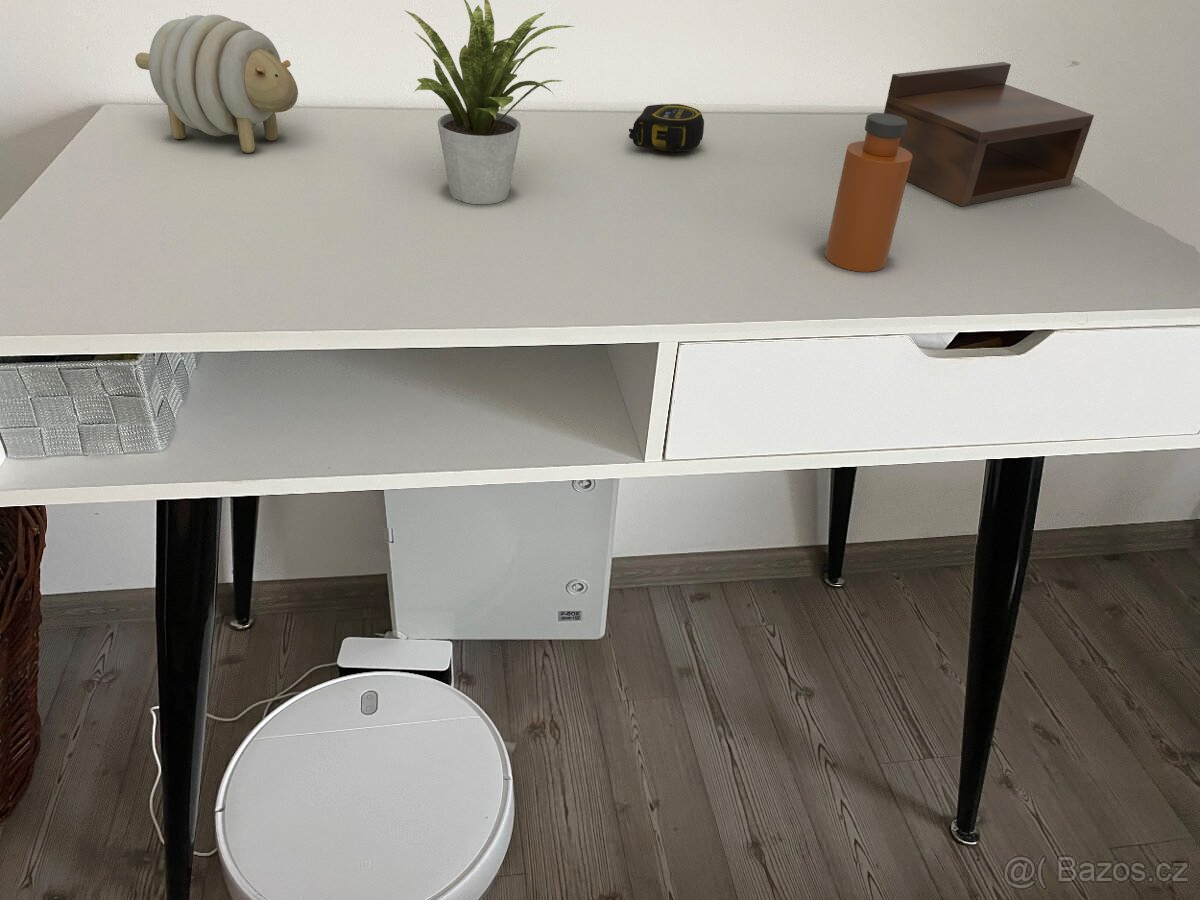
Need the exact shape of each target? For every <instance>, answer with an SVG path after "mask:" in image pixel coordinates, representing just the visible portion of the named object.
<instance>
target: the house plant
mask: <svg viewBox="0 0 1200 900" xmlns="http://www.w3.org/2000/svg"><path fill="white" fill-rule="evenodd" d="M463 2H464V4H465V7H466V11H467V13H468V16H469V17H468V18H469V23H470V27H469V34H468V35H469V36H468V42H467V44H464V45H463V46H462V47H461V49H460V51H459V57H458V62H459V64H458V65H459V67H460V71H461V74H460V73H459V70H458V69H457V65H456V64H455V62H454V59H453V57H452V55H451V53H450V51H449V50H448V48H447V46H446V44H445V42H444V41H443V40H442V38H441V37H440V35H439V34H438V32H436V31H435V30H434V29H433V27H431V25H429V24H428V23H427V22H425V21H424V20H423V19H422V17H419V16H418V15H416V13H412V12H410V11H407V10H405V12H406V13H407V14H408V15H409V16H411V17H412V18H413V19H414V20H415V21H416V22H417V23H418V24H419V26H420V28H422V30H423V31H424V33H425V34H426V36H427V37H428V38H429V40H430V42H431V44H432V45H433V46H432V45H431V44H430V43H429V41H428V40H427V39H425V38H424V37H423V36H421V35H420V34H418V33H417V32H415V34H416V36H417V37H418V38H419V39H420V40H422V41H423V42H424V43H425V44H426V45H427V46H428V47H429V48H430V50H431V51H432V52H433V54H434V55H435V56H436V57H437V58H438V60H439V61H440V62H441V63H442V64H443V66H444V68H445V69H446V71H447V72H448V74H449V76H450V78H451V81H452V83H453V84H454V86H455V88H456V90H457V92H458V94H459V95H460V97H461V99H462V101H463V103H464V106H465V108H464V106H463V104H462V101H461V99H460V97H459V95H458V94H457V92H456V90H455V89H454V87H453V86H452V85H451V82H450V80H449V78H448V77H447V76H446V74H445V71H443V68H442V67H441V64H440V63H439V61H438V60H436V59H435V58H432V61H433V66H434V73H435V76H436V78H437V80H438V81H437V80H436V79H433V78H429V77H422V78H421V77H420V78H417V79H416V81H418V82H419V83H420V84H419V85H418V86H417V87H416V88H415V90H414V92H412V93H415V92H417V91H432V92H433V93H434V94H436V95H437V96H438V97H439V98H440V99H442V100H443V102H444V103H445V105H446V106H447V108H448V109H449V111H450V113H447V114H444V115H442V116H440V117H439V119H438V120H437V128H438V134H439V141H440V144H441V145H440V146H441V151H442V157H443V162H444V167H445V173H446V178H447V184H448V190H449V194H450V196H451V197H452V198H453V199H455V200H457V201H459V202H463V203H465V204H473V205H491V204H493V205H494V204H497V203H500V202H503V201H504V200H506V199H508V197H509V195H510V189H511V185H512V184H511V183H512V178H513V174H514V173H513V172H514V167H515V162H516V157H517V150H518V145H519V141H520V140H519V139H520V134H521V128H522V125H521V122H520V120H518V119H517V118H515V117H513V116H511V115H509V113H510V112H511V111H512V110H513V109H514V108H515V107H516V106H517V105H518V104H519V103H521V101H523V99H525V98H526V97H527V96H528V95H530V94H531V93H532V92H533V91H534V90H537V89H538V88H539V87H542V88H544V89H546V90H548V91H549V92H551V93H552V94H553V96H555V95H554V93H553V91H552V90H551V89H550V88H548V87H547V86H546V84H547V83H555V82H556V83H557V82H562V80H559V79H548V80H547V79H546V80H544V81H541V82H539V81H535V80H524V81H523V80H522V81H518V82H516V83H514V84H512V85H511V86H509V85H510V84H511V82H513V81H514V80H515V79H516V78H518V74H517V73H516V72H517V71H518V69H519V67H521V65H522V64H523V63H524V62H525V61H526V60H527V59H528V58H529V57H531V56H532V55H533V54H534V53H537V52H539V51H541V50H550V49H553V50H554V49H556V47H554V46H548V45H547V46H545V45H544V46H539V47H537V48H534V49H532V50H531V51H530V52H528V53H527V54H526V55H525V56H524V57H521V58H517V56H518V55H519V54H520V53H521V51H522V50H523V49H524V48H525V47H526V46H527V45H528V44H529V43H530V42H531V41H533V40H534V39H535V38H537V37H538V36H540V35H542V34H543V33H544V34H545V33H546V32H548V31H550V30H554V29H563V28H564V29H565V28H574V27H576V26H575V25H564V24H563V25H561V24H558V25H550V26H545V27H543V28H541V29H538V30H536V31H535V32H533V33H531V31H533V30H535V29H537V28H538V26H533V24H534V23H535V21H537V20H538V19H540V18H541V17H543V16H544V14H545V13H546V12H542V13H538V14H535V15H533V16H531V17H529V18H527V19H526V20H524V21H523V22H522V23H521V24H520V25H519V26H518V27H517V29H515V31H514V32H513V33H512V35H511V36H510V37H507V38H504V39H499V40H496V41H495V19H494V15H493V10H492V7H491V3H490V1H489V0H484V3H483V5H484V6H483V7H484V8H483V9H484V12H483V9H482V8H481V6H480V4H478V5H477V6H476V7H475V8H474V10H473V12H472V9H471V7H470V4H469V2H468V1H467V0H463ZM529 33H531V35H530V36H528V35H529ZM527 36H528V37H527ZM526 37H527V38H526ZM525 38H526V39H525ZM516 58H517V59H516ZM516 65H517V66H516ZM512 71H513V72H512ZM508 86H509V88H507V87H508ZM526 86H533V87H532V88H531V89H529V90H528V91H527V92H526V93H524V94H523V95H522V96H521V97H520V98H519V99H518V100H517V101H515V103H514V104H513V105H512V106H511V107H510V108H509V109H508V110H507V111H506V112H505V113H502V112H503V111H504V110H503V109H504V108H505V107H506V106H508V105H510V103H513V101H514V96H512V95H511V94H512V93H514V92H515V91H516V90H518V89H521V88H522V87H526ZM499 108H500V109H499ZM500 110H501V112H499V111H500Z"/></svg>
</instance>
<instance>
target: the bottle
mask: <svg viewBox="0 0 1200 900" xmlns="http://www.w3.org/2000/svg"><path fill="white" fill-rule="evenodd" d="M906 125H907V121H906V120H905V119H904V118H902V117H899V116H896V115H892V114H885V113H884V112H875V113H870V114H868V115H867V116H866V121H865V124H864V131H865V137H864V140H860V141H859V140H858V141H853V142H851V143H849V144H848V145H847V147H846V152H845V156H844V160H843V165H842V170H841V175H840V179H839V184H838V189H837V194H836V198H835V199H836V200H835V204H834V209H833V213H832V218H831V222H830V228H829V233H828V237H827V242H826V247H825V251H824V257H825V259H826V260H827V261H828V262H829V263H831V264H832V265H834V266H836V267H838V268H841V269H843V270H849V271H853V272H862V273H871V272H877V271H880V270H882V269H884V268H885V267H886V266H887V261H888V259H889V254H890V250H891V246H892V241H893V237H894V234H895V230H896V226H897V221H898V217H899V214H900V210H901V207H902V206H901V205H902V202H903V198H904V193H905V190H906V185H907V182H908V181H907V177H908V173H909V169H910V165H911V161H912V154H911V153H910V152H909V151H908V150H906V149H904V148H902V147H899V143H900V139H901V137H902V136H904V134H905V129H906Z"/></svg>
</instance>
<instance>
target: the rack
mask: <svg viewBox="0 0 1200 900" xmlns="http://www.w3.org/2000/svg"><path fill="white" fill-rule="evenodd" d="M1011 66H1012V63H1008V62H1006V61H999V62H991V63H982V64H980V63H979V64H971V65H965V66H962V65H961V66H953V67H946V68H937V69H929V70H928V69H927V70H926V69H925V70H918V71H909V72H908V71H907V72H900V73H892V75H891V79H890V83H889V88H888V93H887V97H886V98H887V99H886V102H885V106H884V110H883V113H885V114H892V115H896V116H899V117H902V118H904V119H905V120H906V121H907V125H906V129H905V134H904V136H902V137H901V139H900V143H899V147H902V148H904V149H906V150H908V151H909V152H910V153H911V154H912V161H911V165H910V169H909V173H908V177H907V181H906V182H908V183H910V184H912V185H915V186H917V187H918V188H920V189H923V190H925V191H927V192H929V193H931V194H933V195H935V196H938V197H939V198H941V199H944V200H946V201H948V202H950V203H953V204H955V205H957V206H959V207H965V206H969V205H974V204H975V205H976V204H981V203H984V202H985V203H986V202H989V201H995V200H999V199H1005V198H1009V197H1014V196H1015V197H1016V196H1021V195H1024V194H1025V195H1026V194H1030V193H1035V192H1040V191H1045V190H1050V189H1054V188H1060V187H1064V186H1069V185H1071V184H1072V181H1073V178H1074V175H1075V172H1076V170H1077V167H1078V164H1079V162H1080V158H1081V155H1082V152H1083V149H1084V146H1085V144H1086V141H1087V138H1088V135H1089V132H1090V129H1091V126H1092V123H1093V120H1094V116H1095V115H1094V114H1092V113H1089V112H1087V111H1083V110H1080V109H1077V108H1075V107H1072V106H1069V105H1066V104H1063V103H1061V102H1058V101H1055V100H1052V99H1049V98H1047V97H1043V96H1040V95H1037V94H1034V93H1032V92H1030V91H1026V90H1023V89H1021V88H1017V87H1014V86H1012V85H1009V84H1006V83H1007V80H1008V76H1009V73H1010V69H1011Z"/></svg>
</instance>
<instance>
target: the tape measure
mask: <svg viewBox="0 0 1200 900" xmlns="http://www.w3.org/2000/svg"><path fill="white" fill-rule="evenodd" d="M704 128H705V119H704V117H703V114H702V112H701V111H700V110H699V109H698V108H696V107H693V106H689V105H687V104H686V105H685V104H682V103H681V104H680V103H665V104H664V103H662V104H650V105H647V106H646V107H644V109H643V111H642V113H640V115H639V116H637V118H636V119H635V121H634V122H633V126H632V128H628V132H630V133H629V134H628V138H629V139H631V140H632V142H633V144H634V146H636V147H637V148H652V149H655V150H658V151H659V150H660V151H663V152H687V151H690V150H692V149H696V148H697V147H698V146H699V145H700V144H701V141H702V140H703V137H704V131H705V129H704Z"/></svg>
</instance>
